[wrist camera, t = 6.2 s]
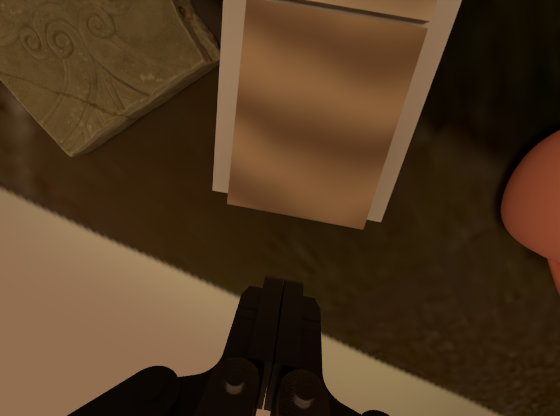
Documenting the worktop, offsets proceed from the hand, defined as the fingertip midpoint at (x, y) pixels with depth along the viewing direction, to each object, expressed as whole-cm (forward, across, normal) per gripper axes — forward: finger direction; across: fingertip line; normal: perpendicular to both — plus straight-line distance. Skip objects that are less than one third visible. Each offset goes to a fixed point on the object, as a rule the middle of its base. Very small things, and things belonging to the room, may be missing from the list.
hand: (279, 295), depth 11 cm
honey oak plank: (+15, -1, -4) cm, 16 cm away
